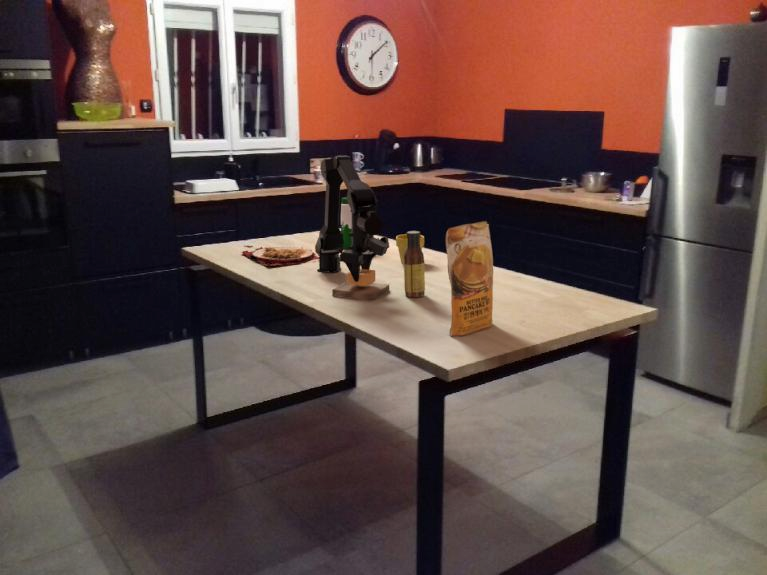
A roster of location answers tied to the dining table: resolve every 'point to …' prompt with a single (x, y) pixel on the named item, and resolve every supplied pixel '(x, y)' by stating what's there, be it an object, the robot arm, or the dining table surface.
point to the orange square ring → (362, 278)
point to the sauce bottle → (414, 266)
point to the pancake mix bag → (470, 277)
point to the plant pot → (405, 244)
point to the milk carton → (346, 223)
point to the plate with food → (281, 255)
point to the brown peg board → (361, 290)
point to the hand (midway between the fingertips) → (361, 278)
